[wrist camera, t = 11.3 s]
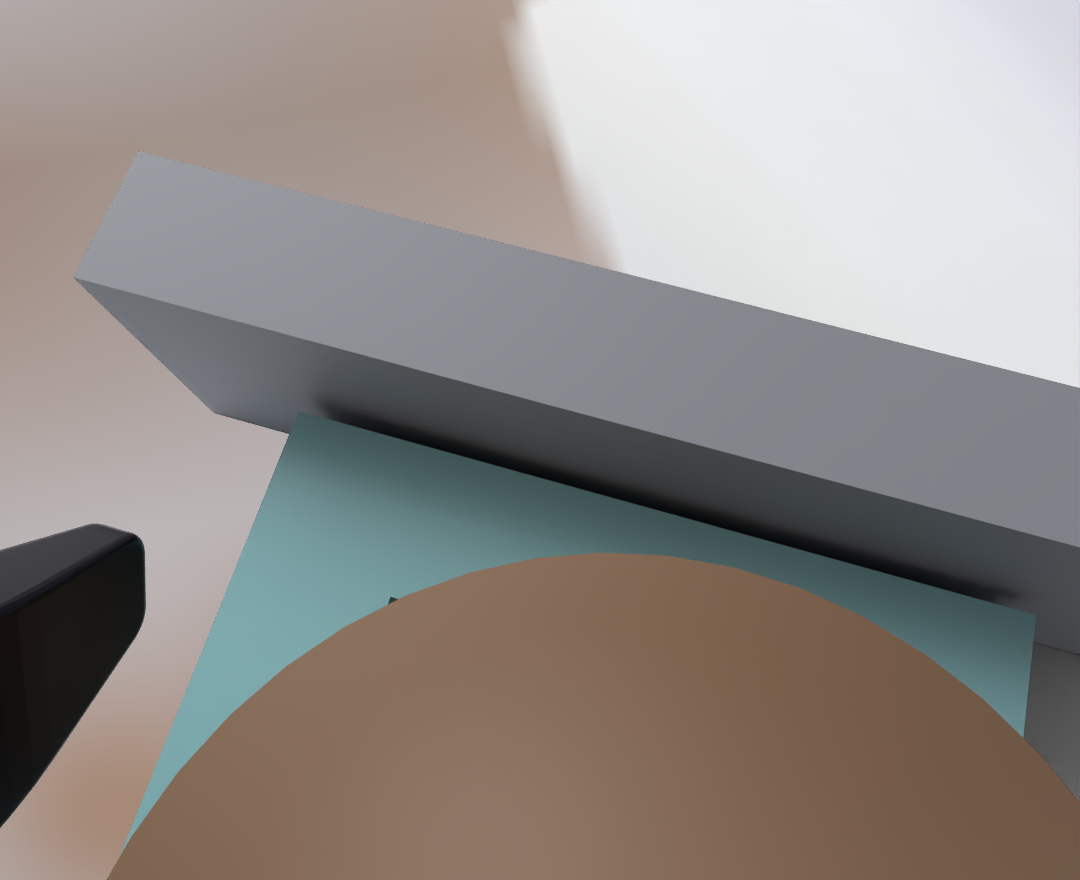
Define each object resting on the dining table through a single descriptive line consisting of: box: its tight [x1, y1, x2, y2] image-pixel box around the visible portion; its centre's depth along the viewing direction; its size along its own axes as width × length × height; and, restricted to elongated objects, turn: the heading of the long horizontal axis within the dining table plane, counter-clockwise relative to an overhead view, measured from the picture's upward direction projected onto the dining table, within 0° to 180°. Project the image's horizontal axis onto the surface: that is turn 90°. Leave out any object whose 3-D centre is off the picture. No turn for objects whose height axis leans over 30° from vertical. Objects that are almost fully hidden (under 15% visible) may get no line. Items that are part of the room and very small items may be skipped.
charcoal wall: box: [74, 151, 1080, 655], centre depth 13 cm, size 2×16×5 cm, turn 74°
